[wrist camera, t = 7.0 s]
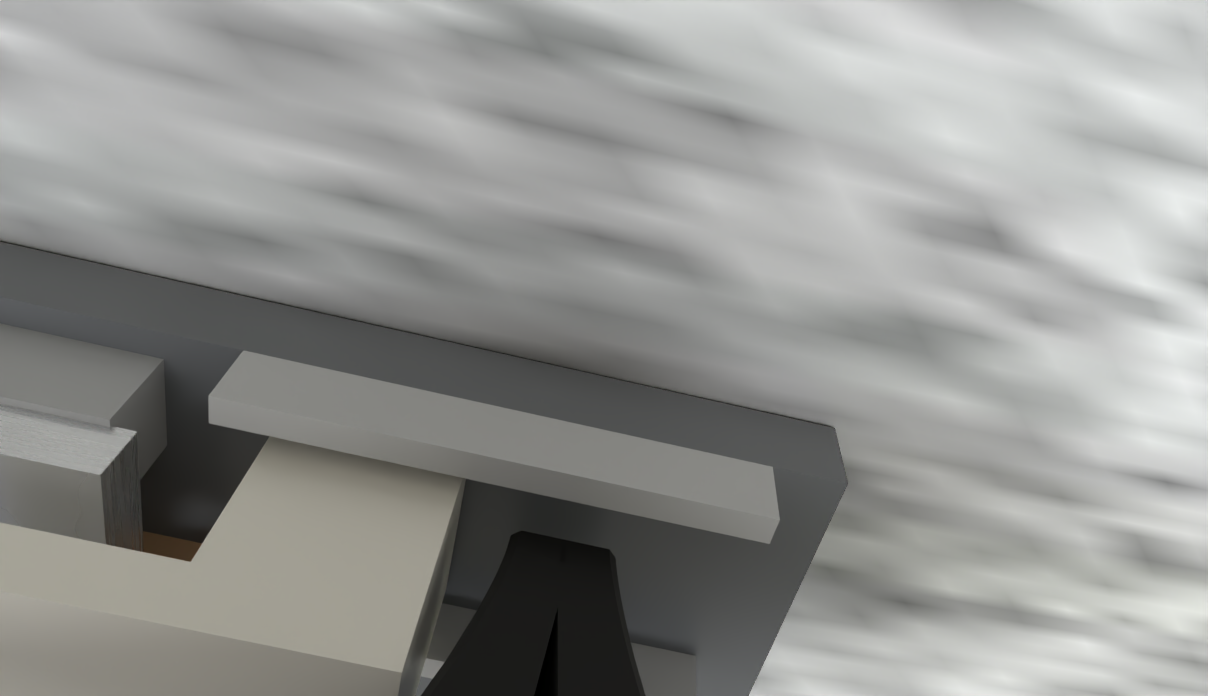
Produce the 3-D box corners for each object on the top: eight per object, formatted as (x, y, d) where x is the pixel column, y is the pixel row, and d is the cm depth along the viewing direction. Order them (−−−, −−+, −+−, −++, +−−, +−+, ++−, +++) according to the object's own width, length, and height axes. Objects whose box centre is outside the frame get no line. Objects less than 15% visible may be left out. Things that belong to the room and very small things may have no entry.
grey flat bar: (160, 863, 15) (135, 913, 15) (-25, 828, 15) (-59, 877, 14) (137, 431, 11) (100, 474, 10) (-129, 374, 10) (-186, 415, 10)
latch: (446, 589, 13) (378, 822, 10) (67, 510, 13) (-115, 727, 10) (470, 449, 12) (401, 673, 9) (48, 358, 12) (-168, 556, 9)
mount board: (646, 854, 19) (639, 1080, 15) (-270, 676, 18) (-482, 875, 14) (835, 428, 13) (885, 643, 10) (-506, 128, 12) (-946, 256, 9)
